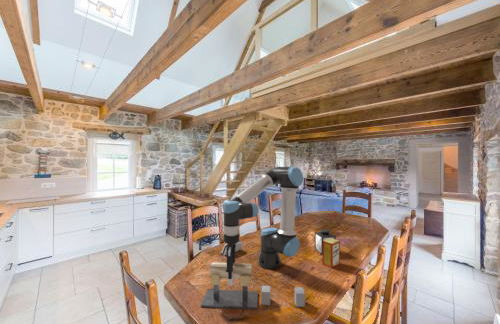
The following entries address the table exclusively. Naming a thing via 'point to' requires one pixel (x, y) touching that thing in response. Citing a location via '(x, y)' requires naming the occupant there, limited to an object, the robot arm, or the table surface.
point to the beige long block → (237, 270)
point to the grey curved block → (238, 247)
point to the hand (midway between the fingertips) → (230, 281)
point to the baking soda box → (331, 252)
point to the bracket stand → (230, 295)
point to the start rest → (298, 296)
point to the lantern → (322, 238)
